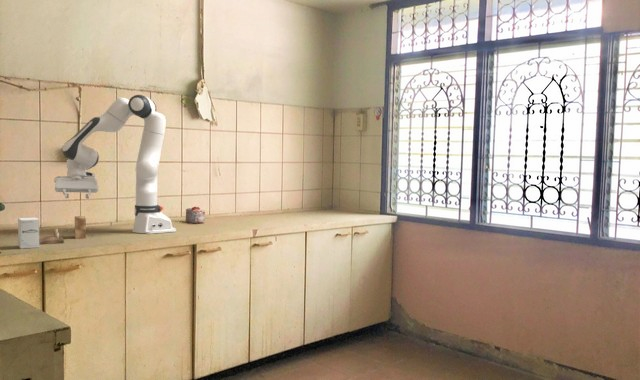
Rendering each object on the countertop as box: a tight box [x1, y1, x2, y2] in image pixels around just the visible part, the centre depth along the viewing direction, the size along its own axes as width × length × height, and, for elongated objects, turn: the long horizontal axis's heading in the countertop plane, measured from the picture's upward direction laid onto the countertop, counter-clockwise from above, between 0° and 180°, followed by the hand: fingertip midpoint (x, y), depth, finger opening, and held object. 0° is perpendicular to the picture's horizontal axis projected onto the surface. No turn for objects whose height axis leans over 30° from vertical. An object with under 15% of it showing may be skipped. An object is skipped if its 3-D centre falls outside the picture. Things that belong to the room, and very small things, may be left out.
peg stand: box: [39, 228, 65, 245], centre depth 246 cm, size 14×14×5 cm
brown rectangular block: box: [74, 215, 87, 240], centre depth 259 cm, size 4×7×10 cm, turn 29°
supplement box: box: [17, 217, 40, 250], centre depth 232 cm, size 7×7×13 cm
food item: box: [185, 206, 206, 225], centre depth 320 cm, size 14×8×10 cm, turn 44°
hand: (77, 197), depth 269 cm, fingers open, 8 cm apart
